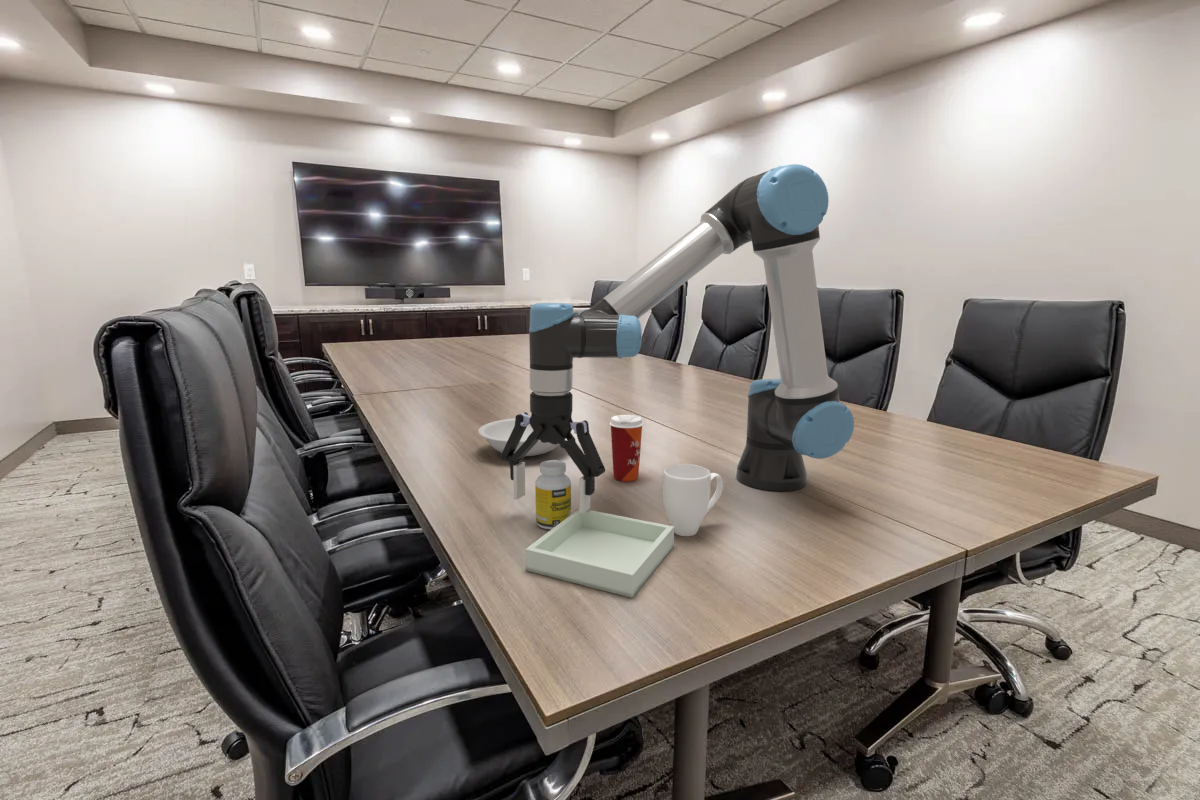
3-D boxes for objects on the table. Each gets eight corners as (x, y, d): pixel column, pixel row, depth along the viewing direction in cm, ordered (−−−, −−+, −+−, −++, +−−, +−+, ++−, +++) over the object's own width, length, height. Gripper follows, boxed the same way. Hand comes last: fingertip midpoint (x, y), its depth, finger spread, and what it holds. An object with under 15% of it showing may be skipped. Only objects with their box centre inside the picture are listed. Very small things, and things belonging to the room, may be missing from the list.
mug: (679, 545, 98) (681, 482, 96) (652, 527, 105) (654, 467, 103) (734, 531, 103) (737, 471, 101) (705, 515, 111) (708, 458, 108)
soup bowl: (589, 456, 147) (589, 431, 146) (503, 474, 134) (502, 446, 132) (544, 435, 166) (543, 413, 165) (465, 449, 153) (463, 425, 152)
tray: (673, 546, 98) (674, 526, 97) (632, 598, 82) (632, 575, 81) (580, 526, 106) (579, 508, 105) (525, 570, 90) (525, 549, 89)
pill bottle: (544, 533, 103) (542, 471, 100) (531, 520, 108) (529, 461, 106) (577, 526, 105) (576, 466, 103) (562, 514, 111) (561, 456, 109)
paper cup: (640, 484, 127) (641, 423, 124) (606, 482, 128) (606, 421, 125) (644, 472, 134) (645, 414, 131) (612, 470, 136) (612, 413, 133)
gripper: (625, 395, 100) (622, 509, 104) (504, 381, 110) (506, 485, 115) (606, 403, 93) (604, 524, 97) (480, 387, 104) (483, 498, 108)
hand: (551, 504), depth 106 cm, fingers open, 13 cm apart
